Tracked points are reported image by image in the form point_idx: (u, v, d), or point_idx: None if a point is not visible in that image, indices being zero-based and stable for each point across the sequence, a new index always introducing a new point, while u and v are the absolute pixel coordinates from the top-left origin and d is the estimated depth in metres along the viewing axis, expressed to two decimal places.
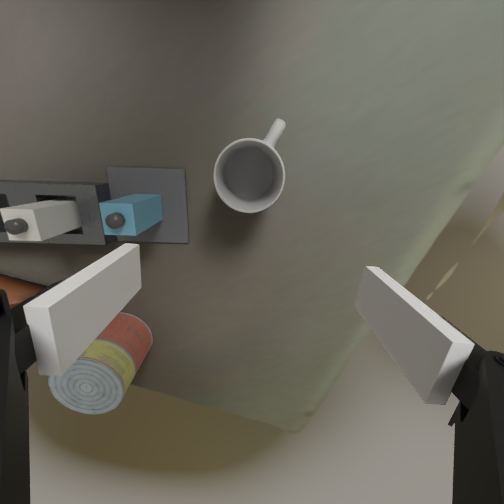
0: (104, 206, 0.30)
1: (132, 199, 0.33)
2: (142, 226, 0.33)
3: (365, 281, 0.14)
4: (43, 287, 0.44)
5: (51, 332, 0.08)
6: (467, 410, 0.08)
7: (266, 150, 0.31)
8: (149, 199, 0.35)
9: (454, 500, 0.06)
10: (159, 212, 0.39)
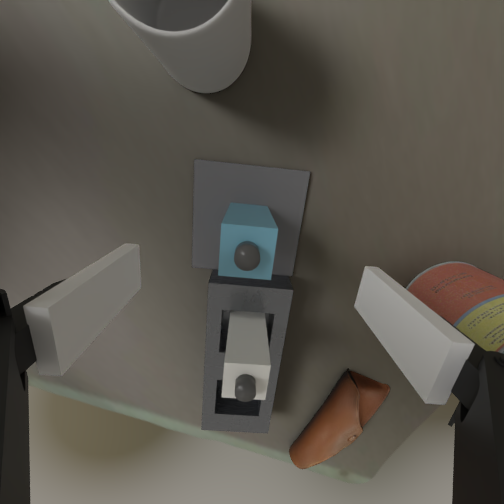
0: (224, 268, 0.18)
1: None
2: (266, 221, 0.19)
3: (365, 281, 0.14)
4: (344, 377, 0.34)
5: (51, 332, 0.08)
6: (467, 410, 0.08)
7: None
8: (229, 210, 0.22)
9: (454, 500, 0.06)
10: (255, 206, 0.26)
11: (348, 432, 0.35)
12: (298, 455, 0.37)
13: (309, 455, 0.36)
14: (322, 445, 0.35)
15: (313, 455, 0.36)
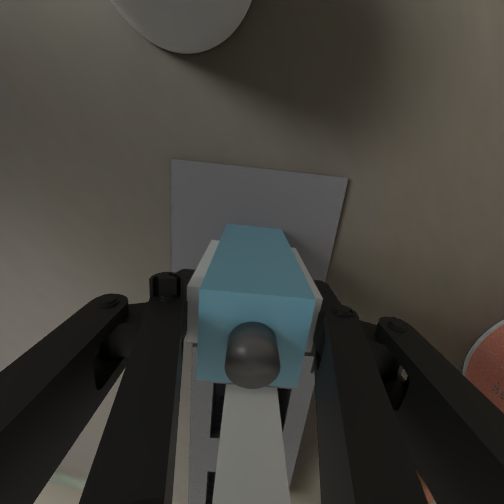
0: (208, 369, 0.09)
1: None
2: (288, 271, 0.11)
3: None
4: None
5: None
6: (320, 357, 0.10)
7: None
8: (222, 242, 0.13)
9: (319, 442, 0.07)
10: (263, 231, 0.17)
11: None
12: None
13: None
14: None
15: None
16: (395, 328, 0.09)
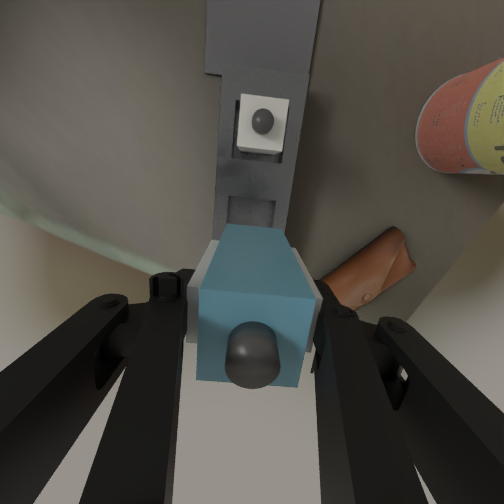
0: (208, 368, 0.09)
1: None
2: (288, 271, 0.11)
3: None
4: (389, 230, 0.34)
5: None
6: (320, 357, 0.10)
7: None
8: (222, 242, 0.13)
9: (319, 442, 0.07)
10: (263, 230, 0.17)
11: (371, 284, 0.34)
12: None
13: None
14: (340, 289, 0.34)
15: None
16: (395, 328, 0.09)
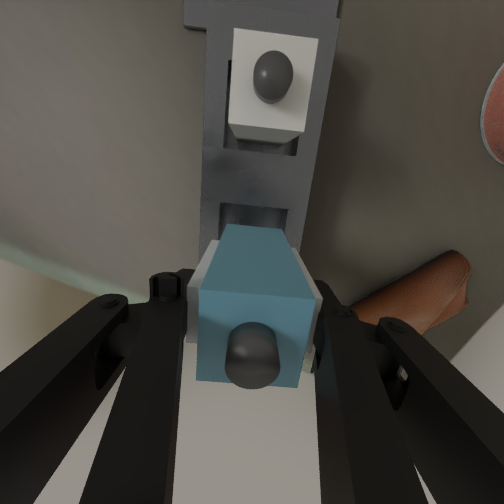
0: (208, 369, 0.09)
1: None
2: (288, 271, 0.11)
3: None
4: (447, 254, 0.26)
5: None
6: (320, 357, 0.10)
7: None
8: (222, 242, 0.13)
9: (319, 442, 0.07)
10: (263, 231, 0.17)
11: (415, 323, 0.26)
12: None
13: None
14: None
15: None
16: (395, 328, 0.09)
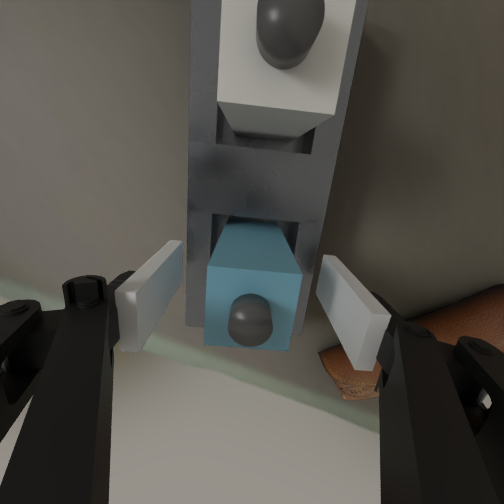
0: (214, 334, 0.11)
1: None
2: (281, 255, 0.12)
3: (322, 269, 0.15)
4: (501, 288, 0.21)
5: (135, 313, 0.09)
6: (387, 376, 0.09)
7: None
8: (224, 232, 0.15)
9: (381, 461, 0.07)
10: (261, 224, 0.19)
11: None
12: (345, 362, 0.22)
13: None
14: None
15: (378, 372, 0.21)
16: (478, 348, 0.08)
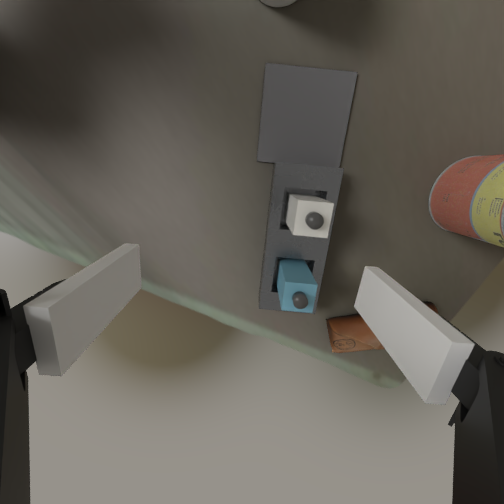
0: (285, 306, 0.31)
1: (281, 281, 0.34)
2: (308, 277, 0.32)
3: (365, 281, 0.14)
4: (427, 303, 0.42)
5: (51, 332, 0.08)
6: (467, 410, 0.08)
7: None
8: (282, 266, 0.35)
9: (454, 500, 0.06)
10: (295, 259, 0.39)
11: None
12: (341, 325, 0.41)
13: (353, 329, 0.41)
14: None
15: (357, 332, 0.41)
16: None
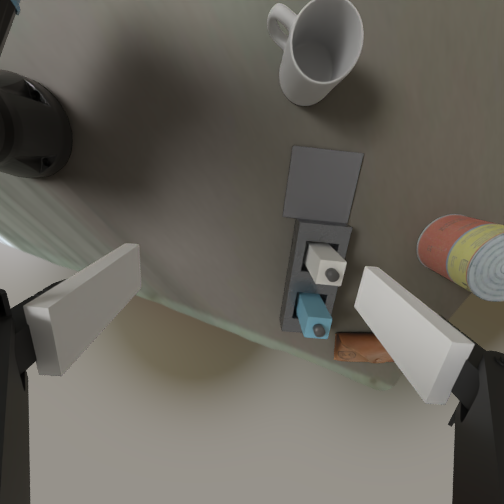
0: (307, 334, 0.41)
1: (302, 312, 0.44)
2: (324, 310, 0.42)
3: (365, 281, 0.14)
4: None
5: (51, 332, 0.08)
6: (467, 410, 0.08)
7: (296, 31, 0.30)
8: (302, 299, 0.45)
9: (454, 500, 0.06)
10: None
11: (388, 355, 0.52)
12: (349, 339, 0.51)
13: (357, 344, 0.51)
14: (372, 347, 0.51)
15: (360, 347, 0.51)
16: None
